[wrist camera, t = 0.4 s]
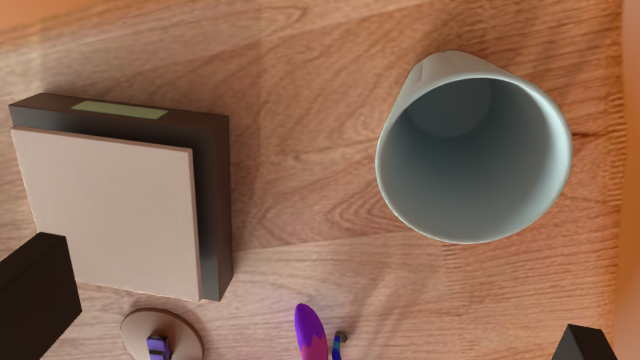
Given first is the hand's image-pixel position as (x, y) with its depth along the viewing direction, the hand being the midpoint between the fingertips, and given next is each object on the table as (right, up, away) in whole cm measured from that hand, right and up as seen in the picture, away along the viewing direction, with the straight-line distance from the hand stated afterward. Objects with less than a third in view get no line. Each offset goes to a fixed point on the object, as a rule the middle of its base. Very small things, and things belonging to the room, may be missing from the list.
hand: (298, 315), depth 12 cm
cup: (+8, +9, +16) cm, 20 cm away
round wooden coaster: (-14, -11, +30) cm, 35 cm away
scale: (-13, +3, +22) cm, 26 cm away
